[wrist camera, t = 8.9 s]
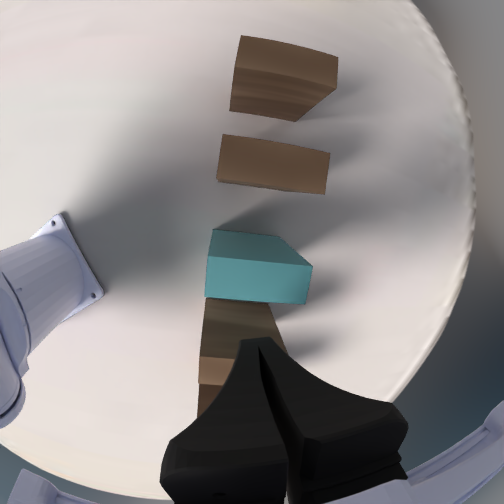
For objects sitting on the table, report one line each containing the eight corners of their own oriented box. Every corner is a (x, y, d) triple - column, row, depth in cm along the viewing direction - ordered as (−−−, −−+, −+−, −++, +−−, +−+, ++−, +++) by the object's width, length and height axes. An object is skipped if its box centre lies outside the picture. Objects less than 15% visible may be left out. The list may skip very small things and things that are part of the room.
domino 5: (294, 121, 19) (336, 88, 11) (229, 110, 18) (234, 66, 10) (297, 99, 18) (338, 57, 11) (233, 87, 18) (241, 35, 10)
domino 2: (264, 325, 22) (283, 387, 15) (204, 320, 22) (198, 383, 14) (267, 303, 22) (290, 361, 14) (205, 298, 21) (199, 356, 13)
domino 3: (275, 261, 21) (305, 304, 13) (210, 255, 20) (204, 296, 13) (279, 236, 21) (312, 266, 13) (213, 229, 20) (207, 255, 12)
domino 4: (285, 191, 20) (324, 194, 12) (218, 182, 19) (216, 178, 11) (289, 165, 19) (330, 153, 12) (222, 155, 19) (222, 134, 11)
